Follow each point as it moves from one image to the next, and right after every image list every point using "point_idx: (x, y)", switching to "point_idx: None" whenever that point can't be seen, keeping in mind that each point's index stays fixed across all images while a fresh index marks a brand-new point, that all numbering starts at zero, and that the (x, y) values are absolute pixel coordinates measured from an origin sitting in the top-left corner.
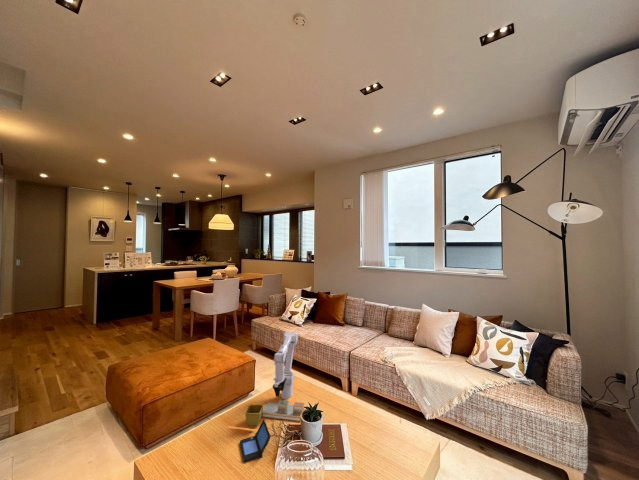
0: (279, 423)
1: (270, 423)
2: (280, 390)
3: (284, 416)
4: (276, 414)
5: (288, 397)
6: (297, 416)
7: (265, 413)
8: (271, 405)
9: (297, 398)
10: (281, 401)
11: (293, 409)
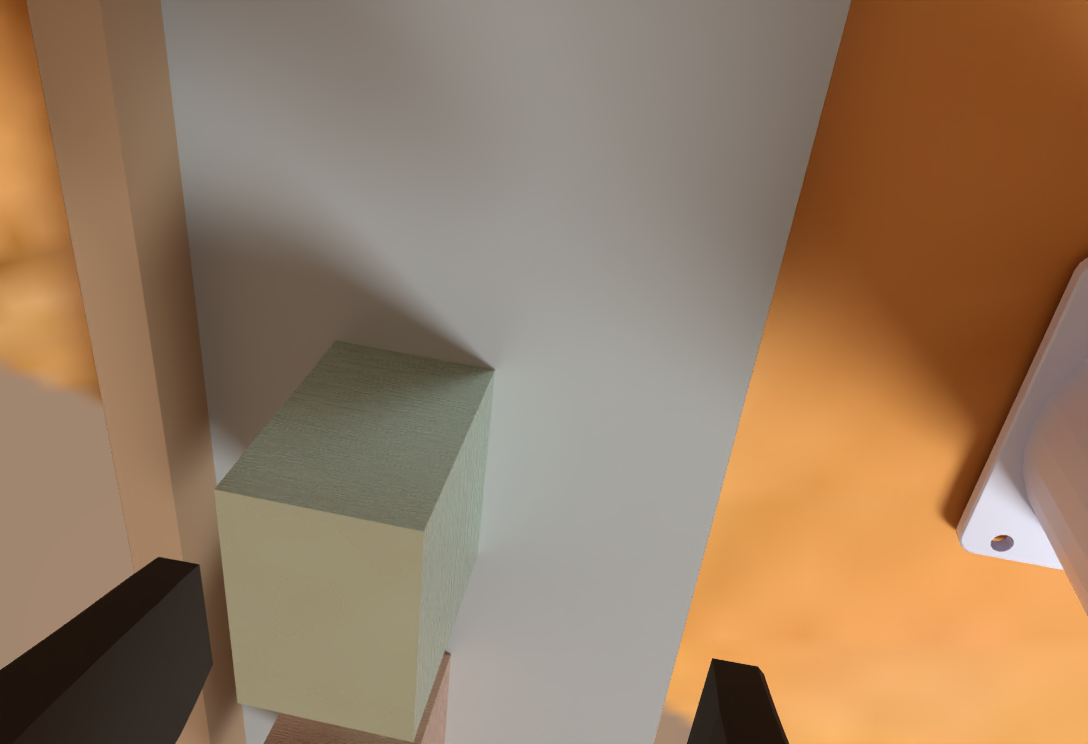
0: (93, 392)
1: (23, 209)
2: (705, 687)
3: (134, 533)
4: (119, 372)
5: (1049, 539)
6: (194, 737)
7: (47, 56)
8: (684, 84)
9: (1059, 672)
10: (350, 573)
11: (270, 736)
